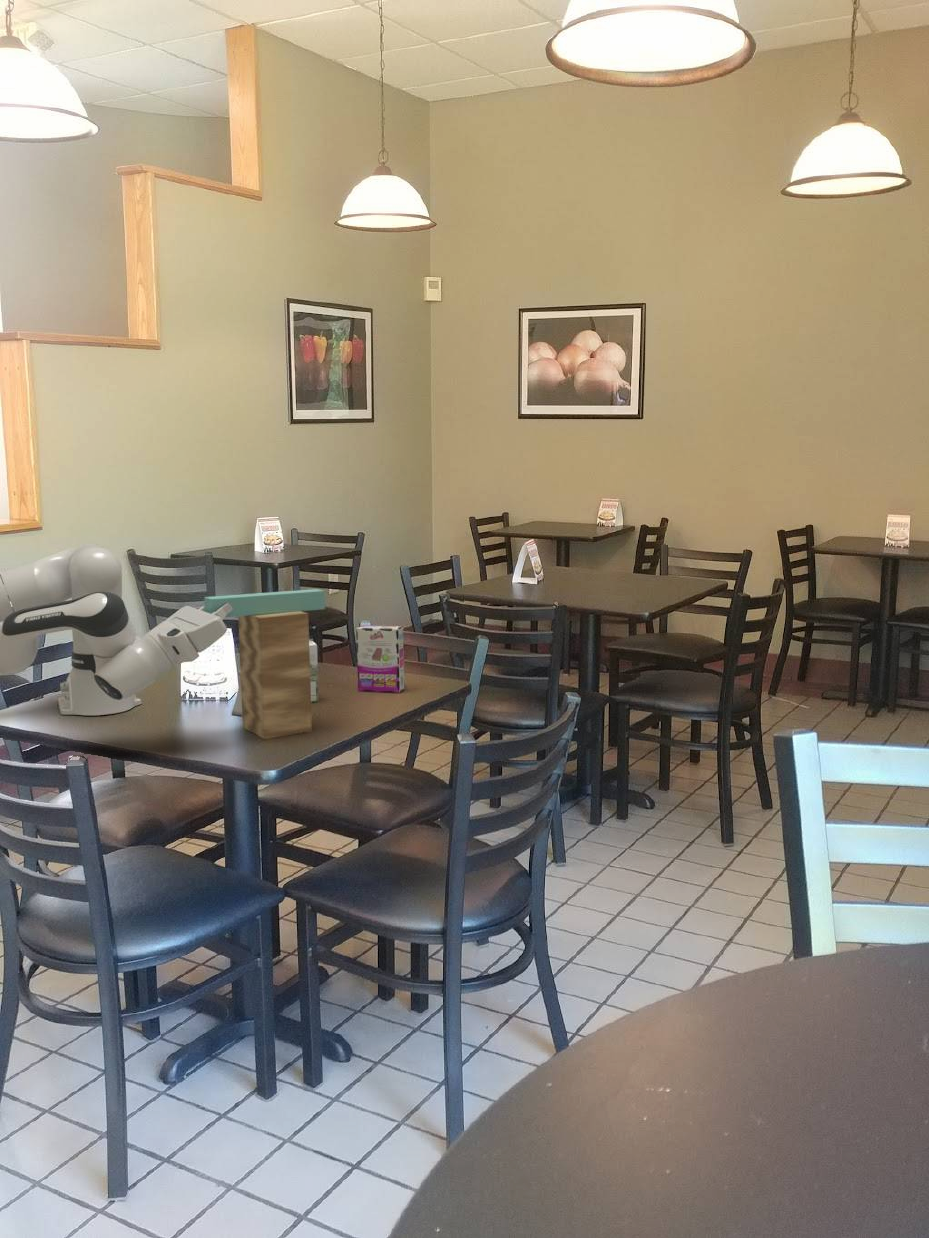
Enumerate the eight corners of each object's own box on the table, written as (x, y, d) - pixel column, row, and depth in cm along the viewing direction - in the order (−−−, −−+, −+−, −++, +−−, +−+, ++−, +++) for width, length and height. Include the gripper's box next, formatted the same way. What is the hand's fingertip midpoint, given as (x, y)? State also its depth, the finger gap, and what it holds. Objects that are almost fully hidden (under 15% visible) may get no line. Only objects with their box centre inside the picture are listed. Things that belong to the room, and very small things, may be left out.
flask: (255, 717, 251) (253, 674, 249) (226, 715, 252) (224, 673, 250) (267, 709, 258) (266, 668, 256) (238, 708, 259) (237, 667, 257)
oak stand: (242, 727, 242) (238, 611, 237) (288, 719, 248) (284, 606, 244) (264, 739, 232) (260, 618, 228) (311, 731, 238) (308, 613, 234)
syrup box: (311, 697, 270) (309, 639, 268) (319, 702, 265) (317, 643, 262) (289, 699, 267) (287, 641, 265) (296, 704, 262) (294, 645, 260)
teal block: (204, 616, 229) (204, 597, 229) (317, 606, 243) (316, 589, 243) (211, 618, 226) (211, 599, 225) (325, 609, 240) (324, 591, 240)
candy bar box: (405, 689, 278) (404, 625, 275) (399, 693, 273) (398, 629, 270) (363, 687, 280) (362, 624, 278) (357, 691, 276) (355, 627, 273)
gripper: (162, 647, 234) (214, 610, 239) (196, 662, 217) (251, 622, 222) (146, 623, 231) (199, 586, 236) (179, 637, 214) (235, 597, 220)
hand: (225, 604), depth 229 cm, fingers closed on teal block, 4 cm apart
